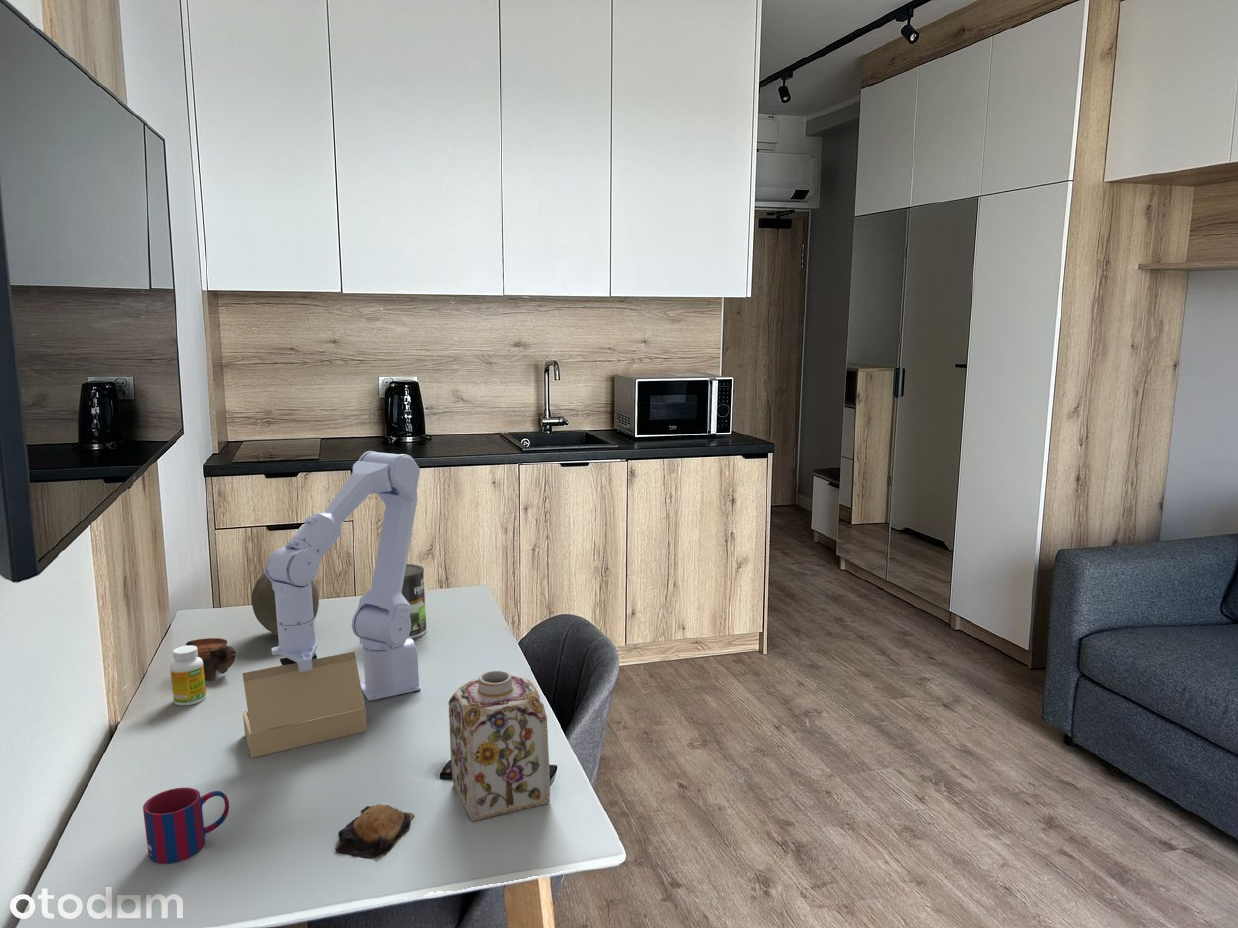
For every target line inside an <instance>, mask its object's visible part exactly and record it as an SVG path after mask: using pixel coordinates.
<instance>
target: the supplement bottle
mask: <svg viewBox="0 0 1238 928" xmlns="http://www.w3.org/2000/svg"><path fill="white" fill-rule="evenodd" d="M197 656H198V651H197V647H196V646H191V645H189V646H187V645H183V646H179V647H177V648H174V649H173V651H172V658H173V660H174V661H173V662H171V664H170V667H169V668H170V669H169V671H170V678H171V686H172V688H171V689H172V698H173V703H174V704H175V705H177V706H181V707H182V706H183V707H184V706H192V705H196V704H199V703H201V702H202V701H204V700H205V699H206V697H207V688H206V681H205V676H204V667H203V660H202V659H201V658H200V657H197Z"/></svg>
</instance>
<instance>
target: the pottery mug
mask: <svg viewBox="0 0 1238 928" xmlns="http://www.w3.org/2000/svg"><path fill="white" fill-rule="evenodd" d="M189 645H191V646H196V647H197V651H198V656H197V657H200V658H201V659H202V660H203V667H204V676H205V682H206V681H208V682H209V681H210V682H211V681H216V678H217V677H216V675H217V671H218V673H220V674H225V673H226V672H228V670H229V668H230V667H231V666H233V664H234V663H235V661H236V659H237V652H236V649H235V648H234V647H233V646H231V645H230V646H229V645H228V640H227V639H225V638H219V637H208V638H198V639H194V640H189V641H188V642H186V643H185V646H189Z"/></svg>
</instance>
